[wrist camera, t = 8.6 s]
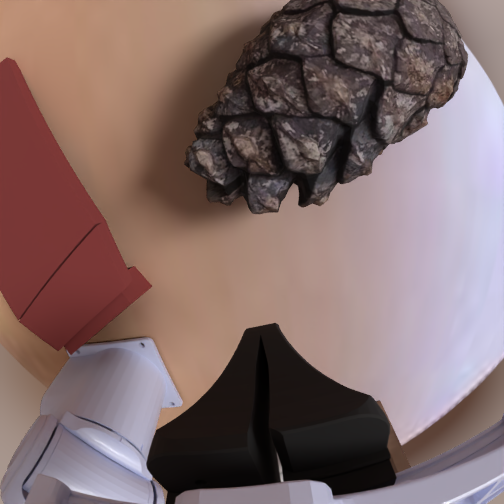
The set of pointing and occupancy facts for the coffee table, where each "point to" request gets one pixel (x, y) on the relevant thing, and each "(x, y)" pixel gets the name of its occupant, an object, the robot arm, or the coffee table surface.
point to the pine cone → (325, 97)
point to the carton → (53, 232)
